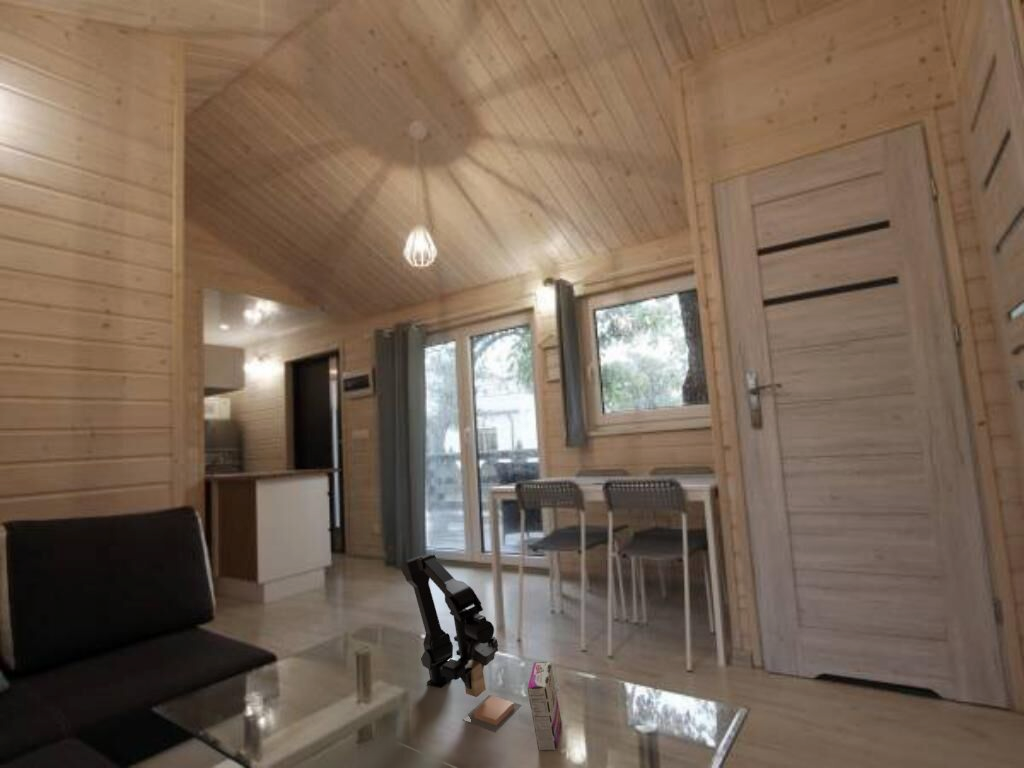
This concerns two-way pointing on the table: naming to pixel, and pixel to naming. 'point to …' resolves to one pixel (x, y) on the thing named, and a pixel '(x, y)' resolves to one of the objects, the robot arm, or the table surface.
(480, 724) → the rubber mat
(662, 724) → the table surface
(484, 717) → the terracotta tile
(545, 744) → the candy bar box
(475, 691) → the oak block
